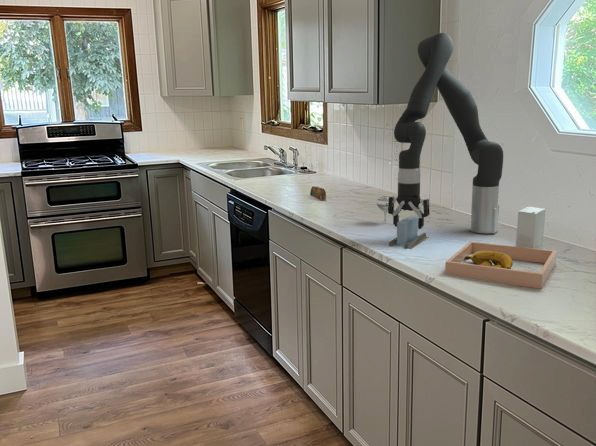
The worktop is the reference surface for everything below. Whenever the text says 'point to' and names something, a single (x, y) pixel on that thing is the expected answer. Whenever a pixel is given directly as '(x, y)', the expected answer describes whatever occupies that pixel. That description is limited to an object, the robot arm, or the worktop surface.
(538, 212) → the skincare box
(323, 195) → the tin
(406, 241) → the door panel
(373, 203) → the worktop surface
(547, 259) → the fruit tray rim
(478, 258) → the banana
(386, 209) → the wineglass
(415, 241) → the door track
